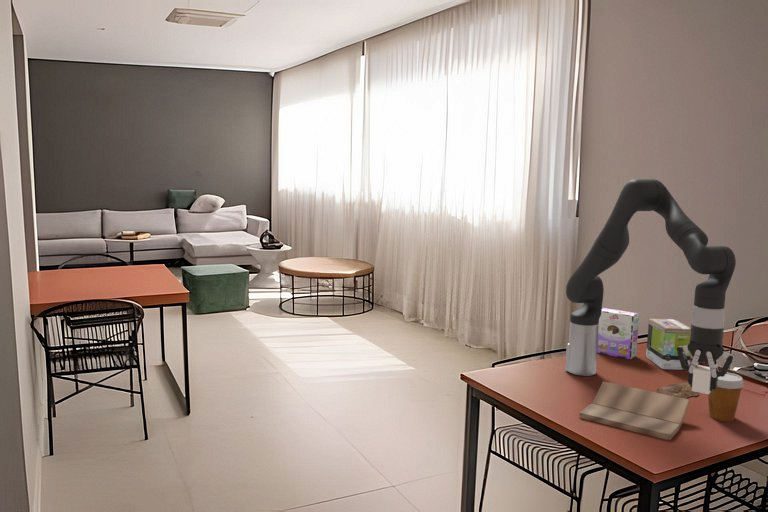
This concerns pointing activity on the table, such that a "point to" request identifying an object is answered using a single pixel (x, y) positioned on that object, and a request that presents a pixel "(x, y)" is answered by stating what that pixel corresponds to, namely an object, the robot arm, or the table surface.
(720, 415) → the disposable coffee cup
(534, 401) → the table surface
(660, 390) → the flat brown piece
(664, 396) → the board
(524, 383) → the table surface
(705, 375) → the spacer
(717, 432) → the table surface
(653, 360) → the tea box
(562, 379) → the table surface
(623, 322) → the candy box
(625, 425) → the floor board
